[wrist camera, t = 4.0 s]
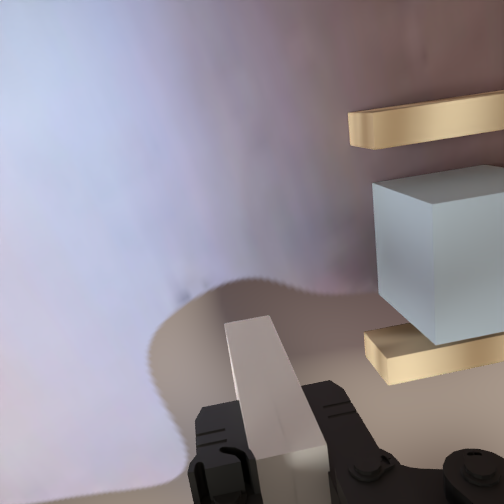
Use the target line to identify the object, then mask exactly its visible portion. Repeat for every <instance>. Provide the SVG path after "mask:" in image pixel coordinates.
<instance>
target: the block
mask: <svg viewBox="0 0 504 504" xmlns="http://www.w3.org/2000/svg"><path fill="white" fill-rule="evenodd" d="M372 188H373V204H374V221H375V237H376V254H377V270H378V287H379V292H378V294H379V295H380V296H382V297H383V298H384V299H385V300H386V301H387V302H388V303H389V304H390V305H391V306H393V307H394V308H395V309H396V310H397V311H398V312H399V313H400V314H401V315H403V316H404V317H405V318H406V319H407V320H408V321H409V322H410V323H411V324H413V325H414V326H415V327H416V328H417V329H418V330H419V331H420V332H421V333H423V334H424V335H425V336H426V337H427V338H428V339H429V340H430V341H431V342H433V343H434V344H435V345H440V344H445V343H450V342H455V341H460V340H465V339H469V338H474V337H479V336H484V335H489V334H494V333H499V332H504V168H503V167H497V166H491V165H479V166H473V167H466V168H460V169H454V170H448V171H442V172H436V173H430V174H424V175H418V176H412V177H405V178H399V179H393V180H387V181H381V182H375V183H372Z"/></svg>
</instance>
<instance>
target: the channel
mask: <svg viewBox="0 0 504 504" xmlns="http://www.w3.org/2000/svg"><path fill="white" fill-rule="evenodd" d="M348 121H349V135H350V145H352V146H357V147H363V148H368V149H374V150H376V149H382V148H389V147H395V146H402V145H408V144H414V143H421V142H427V141H433V140H440V139H446V138H453V137H459V136H465V135H472V134H478V133H484V132H491V131H497V130H504V90H500V91H494V92H487V93H480V94H473V95H467V96H460V97H453V98H446V99H439V100H433V101H426V102H419V103H412V104H406V105H399V106H392V107H385V108H379V109H372V110H365V111H358V112H351V113H348ZM364 338H365V339H364V341H365V354H366V357H367V359H368V360H369V361H370V362H371V364H372V365H373V366H374V368H375V369H376V370H377V371H378V373H379V374H380V375H381V377H382V378H383V379H384V380H385V382H386V383H387V384H388V385H394V384H399V383H403V382H408V381H413V380H418V379H422V378H427V377H431V376H436V375H441V374H446V373H451V372H455V371H460V370H465V369H470V368H474V367H479V366H484V365H489V364H493V363H498V362H503V361H504V332H499V333H494V334H489V335H484V336H479V337H474V338H469V339H465V340H460V341H455V342H450V343H445V344H440V345H435V344H434V343H433V342H431V341H430V340H429V339H428V338H427V337H426V336H425V335H424V334H423V333H421V332H420V331H419V330H418V329H417V328H416V327H415V326H414V325H413V324H411V323H406V324H401V325H396V326H391V327H386V328H381V329H376V330H371V331H365V332H364Z"/></svg>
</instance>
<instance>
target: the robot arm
mask: <svg viewBox="0 0 504 504" xmlns="http://www.w3.org/2000/svg"><path fill="white" fill-rule="evenodd" d="M224 325H225V331H226V337H227V343H228V349H229V355H230V361H231V367H232V373H233V379H234V384H235V391H236V396H237V400H236V401H232V402H227V403H222V404H217V405H212V406H207V407H202V409H201V411H200V413H199V415H198V416H197V418H196V420H195V429H196V452H197V455H196V456H195V457H194V459H193V460H192V461H191V463H190V465H189V469H188V478H189V482H190V487H191V492H192V497H193V501H194V504H504V458H502V457H500V456H498V455H496V454H494V453H492V452H489V451H485V450H481V449H462V450H459V451H455V452H453V453H452V454H450V455H449V456H448V457H446V459H445V462H444V464H443V469H418V468H410V467H407V466H404V465H400V463H399V462H398V461H397V460H396V458H394V456H393V455H392V454H390V453H388V452H386V451H384V450H382V449H379V447H378V446H377V444H376V442H375V441H374V439H373V437H372V436H371V434H370V432H369V431H368V429H367V428H366V426H365V424H364V423H363V421H362V419H361V417H360V416H359V414H358V413H357V412H356V409H355V407H354V406H353V404H352V403H351V401H350V399H349V397H348V396H347V394H346V392H345V391H344V389H343V388H341V387H340V386H338V385H336V384H335V383H333V382H332V381H330V380H328V381H323V382H318V383H314V384H309V385H304V386H301V385H300V383H299V381H298V379H297V377H296V374H295V372H294V370H293V368H292V365H291V363H290V361H289V359H288V356H287V354H286V352H285V350H284V347H283V345H282V343H281V341H280V338H279V336H278V334H277V332H276V329H275V327H274V325H273V323H272V320H271V318H270V316H269V315H268V316H262V317H257V318H251V319H246V320H240V321H235V322H230V323H224Z"/></svg>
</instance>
